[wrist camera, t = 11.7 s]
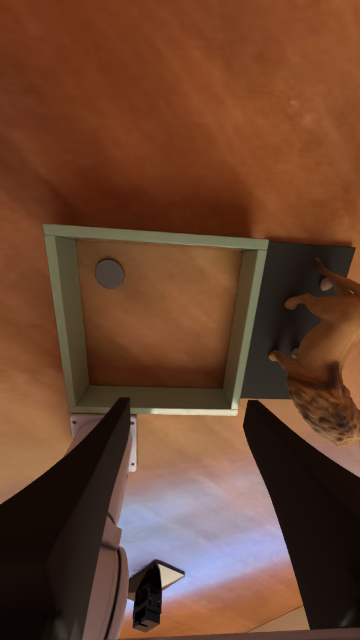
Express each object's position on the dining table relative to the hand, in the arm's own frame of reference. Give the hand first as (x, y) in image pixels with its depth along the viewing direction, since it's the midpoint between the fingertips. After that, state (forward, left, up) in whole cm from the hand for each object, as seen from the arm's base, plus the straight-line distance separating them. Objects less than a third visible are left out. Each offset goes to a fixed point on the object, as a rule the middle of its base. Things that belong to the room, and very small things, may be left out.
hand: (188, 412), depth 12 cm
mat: (+2, -12, -10) cm, 16 cm away
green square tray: (+2, +2, -10) cm, 11 cm away
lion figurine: (+2, -13, -10) cm, 16 cm away
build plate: (-49, +3, -11) cm, 50 cm away
